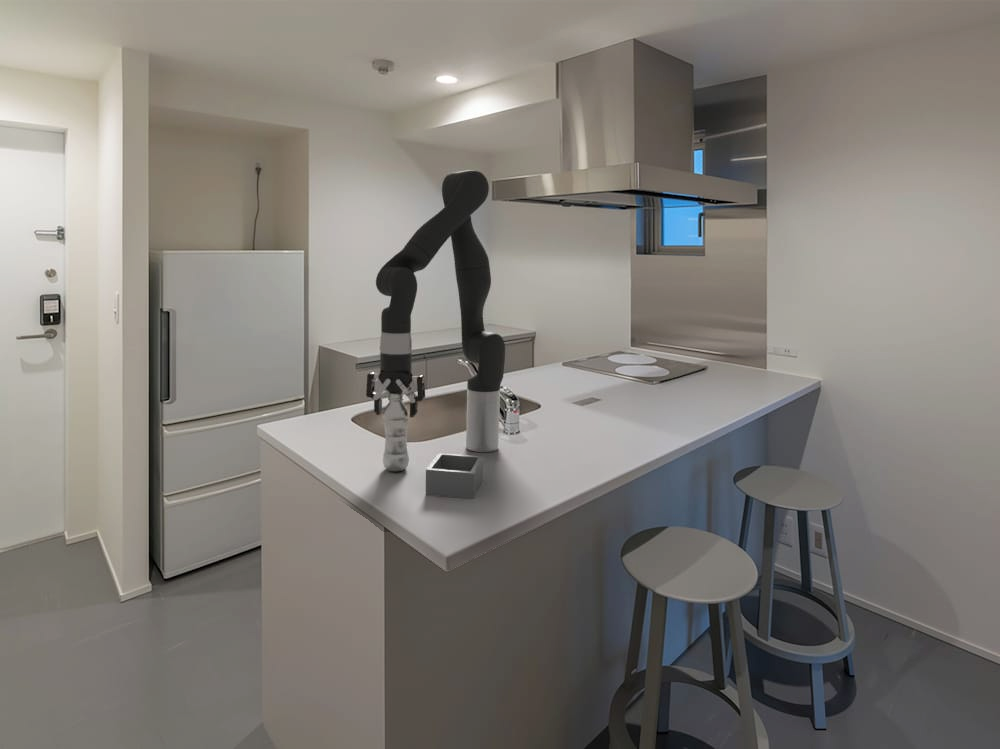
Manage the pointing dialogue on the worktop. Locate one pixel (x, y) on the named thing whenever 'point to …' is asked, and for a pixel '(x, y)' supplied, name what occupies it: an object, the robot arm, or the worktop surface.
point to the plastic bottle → (395, 433)
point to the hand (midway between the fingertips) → (395, 415)
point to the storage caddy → (454, 475)
